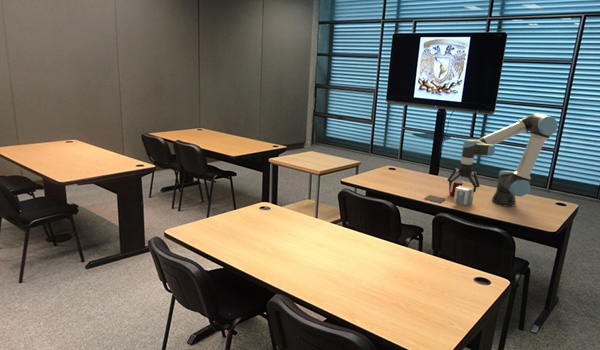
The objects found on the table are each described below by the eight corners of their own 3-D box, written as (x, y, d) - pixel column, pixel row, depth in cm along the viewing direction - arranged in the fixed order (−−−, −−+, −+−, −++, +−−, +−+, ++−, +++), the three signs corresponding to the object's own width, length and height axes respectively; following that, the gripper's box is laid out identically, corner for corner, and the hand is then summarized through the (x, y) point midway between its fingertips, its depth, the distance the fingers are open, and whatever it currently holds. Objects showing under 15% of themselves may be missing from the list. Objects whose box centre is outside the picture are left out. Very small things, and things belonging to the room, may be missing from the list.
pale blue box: (467, 203, 288) (469, 189, 286) (465, 204, 285) (468, 190, 283) (455, 200, 293) (457, 186, 290) (453, 202, 289) (455, 188, 287)
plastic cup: (460, 199, 306) (462, 182, 303) (444, 196, 311) (447, 180, 308) (462, 195, 315) (465, 179, 312) (447, 192, 320) (450, 176, 317)
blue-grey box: (472, 203, 297) (474, 188, 294) (466, 209, 284) (468, 193, 281) (457, 200, 302) (459, 185, 299) (450, 206, 289) (453, 190, 287)
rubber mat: (445, 199, 304) (446, 198, 303) (440, 203, 294) (440, 202, 294) (429, 195, 310) (429, 194, 310) (423, 199, 300) (423, 198, 300)
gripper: (487, 165, 278) (482, 197, 284) (449, 158, 291) (444, 188, 297) (485, 167, 272) (479, 199, 278) (445, 160, 285) (441, 191, 291)
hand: (461, 194), depth 287 cm, fingers open, 13 cm apart
